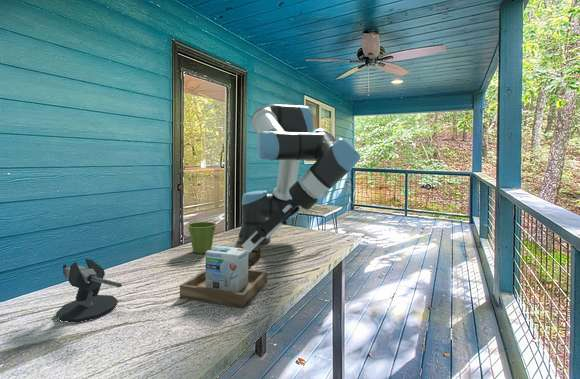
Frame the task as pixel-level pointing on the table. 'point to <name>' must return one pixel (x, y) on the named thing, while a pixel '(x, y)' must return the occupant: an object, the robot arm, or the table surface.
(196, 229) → the plant pot
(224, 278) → the light bulb box
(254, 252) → the rusty artillery shell
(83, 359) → the table surface
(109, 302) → the gun turret
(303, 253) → the table surface
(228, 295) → the walnut tray
